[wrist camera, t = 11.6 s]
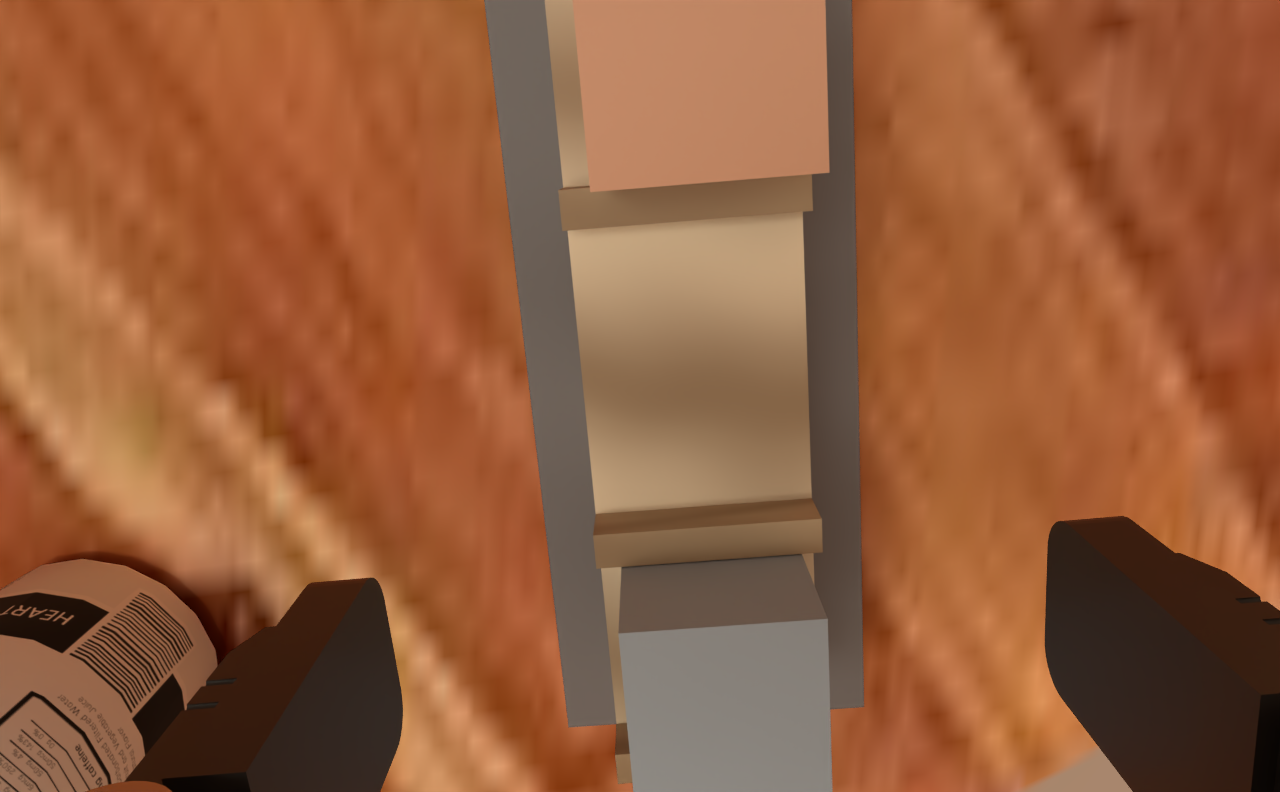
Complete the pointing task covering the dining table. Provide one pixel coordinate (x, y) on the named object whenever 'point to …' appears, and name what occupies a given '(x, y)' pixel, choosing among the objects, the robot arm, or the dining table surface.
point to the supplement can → (91, 673)
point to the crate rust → (702, 90)
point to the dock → (559, 375)
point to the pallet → (686, 363)
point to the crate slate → (726, 676)
